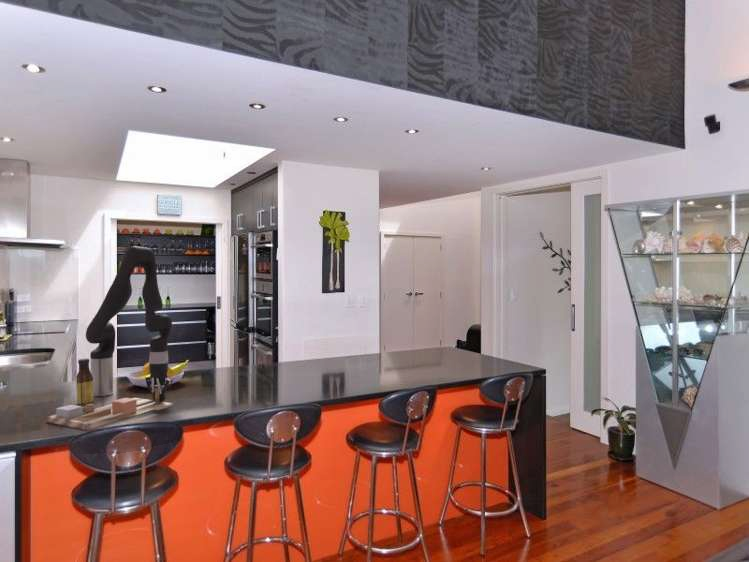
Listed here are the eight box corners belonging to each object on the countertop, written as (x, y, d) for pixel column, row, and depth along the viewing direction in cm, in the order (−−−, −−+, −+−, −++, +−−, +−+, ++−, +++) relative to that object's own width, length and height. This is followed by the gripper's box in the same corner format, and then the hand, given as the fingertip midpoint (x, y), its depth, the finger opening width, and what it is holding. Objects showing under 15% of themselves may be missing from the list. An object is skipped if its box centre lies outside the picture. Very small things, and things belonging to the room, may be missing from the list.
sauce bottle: (96, 403, 225) (96, 357, 224) (89, 407, 219) (89, 360, 218) (81, 403, 225) (81, 357, 224) (73, 407, 218) (73, 360, 218)
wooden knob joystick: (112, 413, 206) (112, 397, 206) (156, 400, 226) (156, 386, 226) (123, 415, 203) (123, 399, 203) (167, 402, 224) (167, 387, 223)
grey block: (56, 421, 196) (56, 408, 195) (87, 412, 208) (87, 400, 207) (67, 423, 193) (67, 410, 193) (99, 414, 205) (98, 402, 205)
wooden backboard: (47, 424, 195) (47, 416, 195) (135, 399, 232) (135, 393, 232) (87, 432, 186) (87, 424, 186) (172, 405, 223) (172, 398, 223)
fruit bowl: (123, 393, 244) (122, 368, 244) (133, 380, 270) (133, 358, 270) (186, 389, 251) (186, 366, 251) (190, 377, 278) (190, 356, 277)
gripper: (177, 361, 224) (177, 401, 224) (153, 358, 229) (153, 397, 230) (164, 364, 217) (164, 405, 217) (139, 361, 222) (139, 401, 223)
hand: (158, 401), depth 224 cm, fingers closed on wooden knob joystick, 3 cm apart
